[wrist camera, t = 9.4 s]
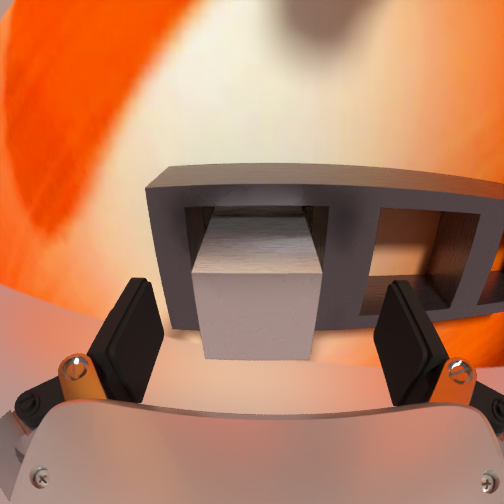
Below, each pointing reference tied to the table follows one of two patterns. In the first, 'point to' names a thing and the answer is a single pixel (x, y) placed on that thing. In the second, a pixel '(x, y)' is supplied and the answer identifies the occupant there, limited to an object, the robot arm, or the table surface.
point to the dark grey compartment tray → (339, 234)
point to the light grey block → (257, 284)
